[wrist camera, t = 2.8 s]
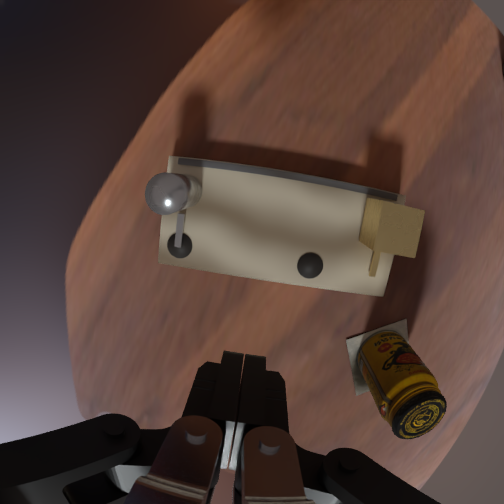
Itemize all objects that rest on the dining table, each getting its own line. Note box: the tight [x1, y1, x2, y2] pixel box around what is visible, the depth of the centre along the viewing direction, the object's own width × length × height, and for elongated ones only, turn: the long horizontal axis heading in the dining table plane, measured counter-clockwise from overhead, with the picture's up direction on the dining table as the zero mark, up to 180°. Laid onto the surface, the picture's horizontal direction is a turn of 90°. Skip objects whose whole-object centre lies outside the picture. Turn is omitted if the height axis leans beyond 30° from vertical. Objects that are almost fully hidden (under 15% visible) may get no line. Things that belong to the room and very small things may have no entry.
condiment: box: [346, 319, 447, 439], centre depth 25 cm, size 7×8×12 cm
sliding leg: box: [359, 198, 425, 277], centre depth 24 cm, size 7×4×4 cm, turn 172°
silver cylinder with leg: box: [145, 173, 202, 248], centre depth 24 cm, size 6×3×6 cm, turn 172°
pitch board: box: [158, 156, 406, 297], centre depth 27 cm, size 10×22×2 cm, turn 82°
